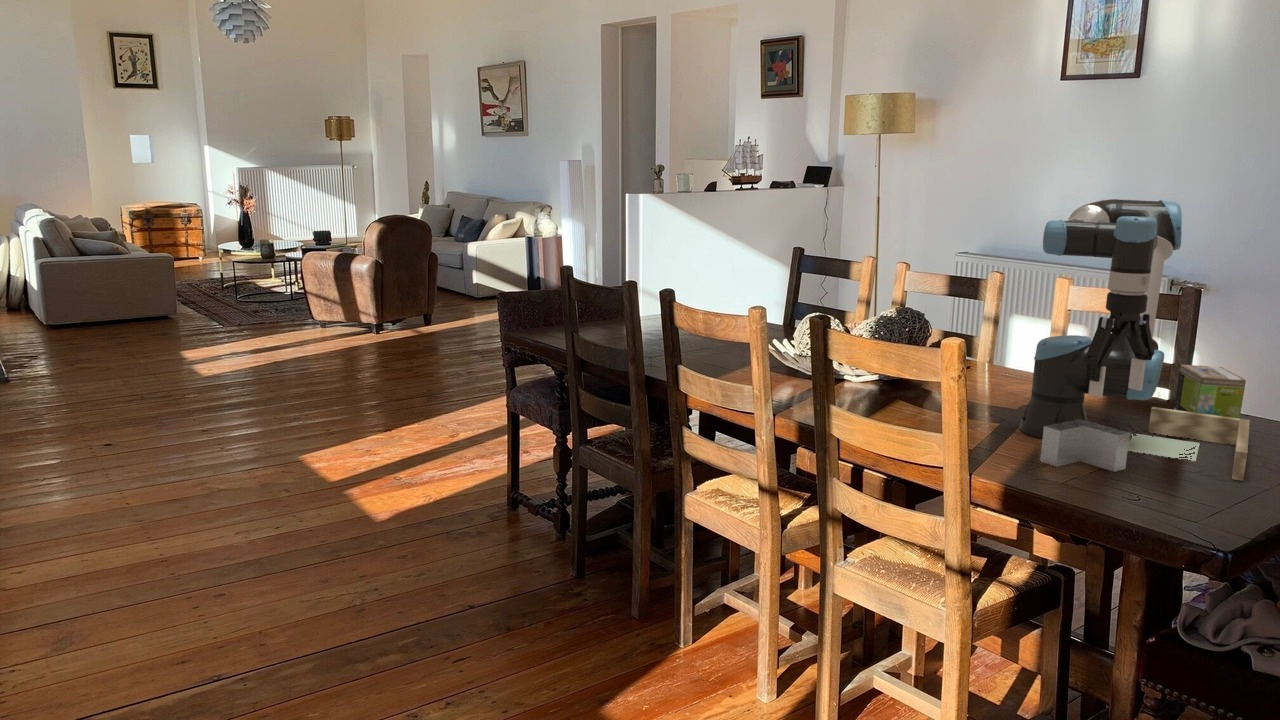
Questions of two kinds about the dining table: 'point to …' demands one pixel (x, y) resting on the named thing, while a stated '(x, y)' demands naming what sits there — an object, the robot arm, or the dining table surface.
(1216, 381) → the tea box
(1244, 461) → the wooden corner fence
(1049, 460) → the bracket
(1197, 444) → the mat
